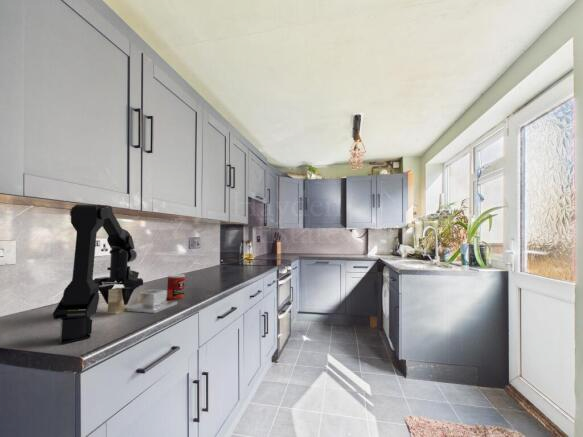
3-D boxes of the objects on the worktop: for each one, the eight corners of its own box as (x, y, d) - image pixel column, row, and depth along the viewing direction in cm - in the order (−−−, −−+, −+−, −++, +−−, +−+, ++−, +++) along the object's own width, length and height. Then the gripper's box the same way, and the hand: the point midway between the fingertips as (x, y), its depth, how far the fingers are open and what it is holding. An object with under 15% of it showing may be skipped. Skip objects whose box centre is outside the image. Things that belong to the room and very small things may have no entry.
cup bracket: (154, 313, 100) (155, 296, 101) (124, 310, 103) (124, 294, 104) (177, 303, 114) (177, 289, 114) (150, 302, 117) (150, 287, 117)
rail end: (116, 313, 99) (117, 290, 100) (107, 313, 100) (108, 289, 101) (124, 311, 103) (125, 288, 104) (116, 310, 104) (117, 287, 104)
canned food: (173, 300, 120) (174, 276, 120) (163, 298, 124) (164, 275, 125) (187, 297, 126) (188, 274, 127) (177, 295, 130) (178, 273, 131)
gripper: (153, 262, 109) (152, 300, 108) (116, 262, 113) (115, 298, 112) (132, 265, 98) (130, 307, 97) (92, 264, 102) (90, 304, 101)
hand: (117, 304), depth 102 cm, fingers open, 8 cm apart
